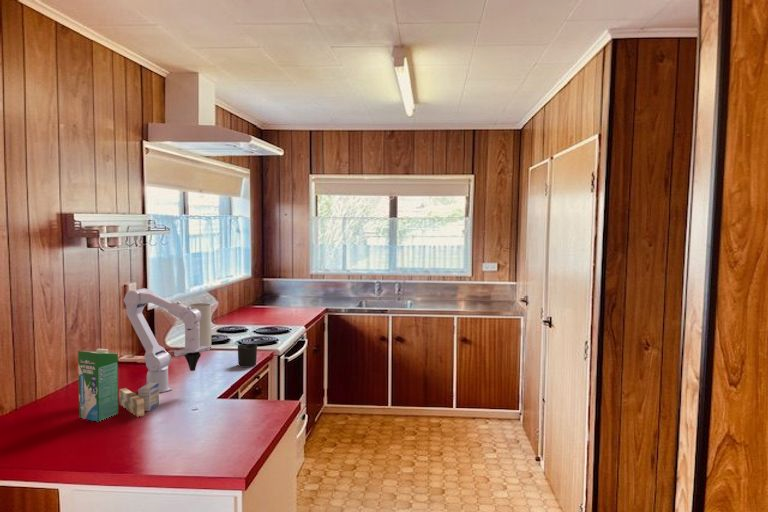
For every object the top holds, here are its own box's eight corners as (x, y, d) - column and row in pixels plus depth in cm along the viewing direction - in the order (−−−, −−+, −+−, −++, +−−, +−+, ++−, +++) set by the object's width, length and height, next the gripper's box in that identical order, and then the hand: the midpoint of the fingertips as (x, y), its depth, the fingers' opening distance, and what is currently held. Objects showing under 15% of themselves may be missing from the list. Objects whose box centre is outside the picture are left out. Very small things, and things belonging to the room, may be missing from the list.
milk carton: (118, 413, 193) (117, 347, 191) (98, 422, 185) (97, 353, 183) (100, 410, 196) (99, 345, 194) (78, 419, 187) (77, 350, 186)
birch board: (119, 404, 203) (119, 388, 202) (126, 403, 205) (125, 387, 204) (137, 417, 190) (137, 400, 190) (144, 415, 192) (144, 398, 192)
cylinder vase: (194, 345, 300) (194, 302, 298) (215, 347, 298) (215, 303, 296) (183, 351, 287) (183, 306, 286) (204, 352, 286) (204, 307, 284)
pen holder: (250, 368, 256) (250, 348, 256) (233, 366, 259) (233, 346, 259) (260, 363, 265) (260, 344, 265) (244, 361, 268) (244, 342, 268)
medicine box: (149, 411, 196) (149, 389, 196) (138, 411, 196) (137, 388, 196) (159, 404, 204) (159, 382, 203) (148, 404, 204) (147, 382, 204)
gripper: (179, 342, 209) (179, 375, 210) (213, 337, 220) (213, 369, 221) (172, 339, 214) (172, 372, 215) (205, 334, 225) (205, 365, 226)
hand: (192, 370), depth 218 cm, fingers closed
